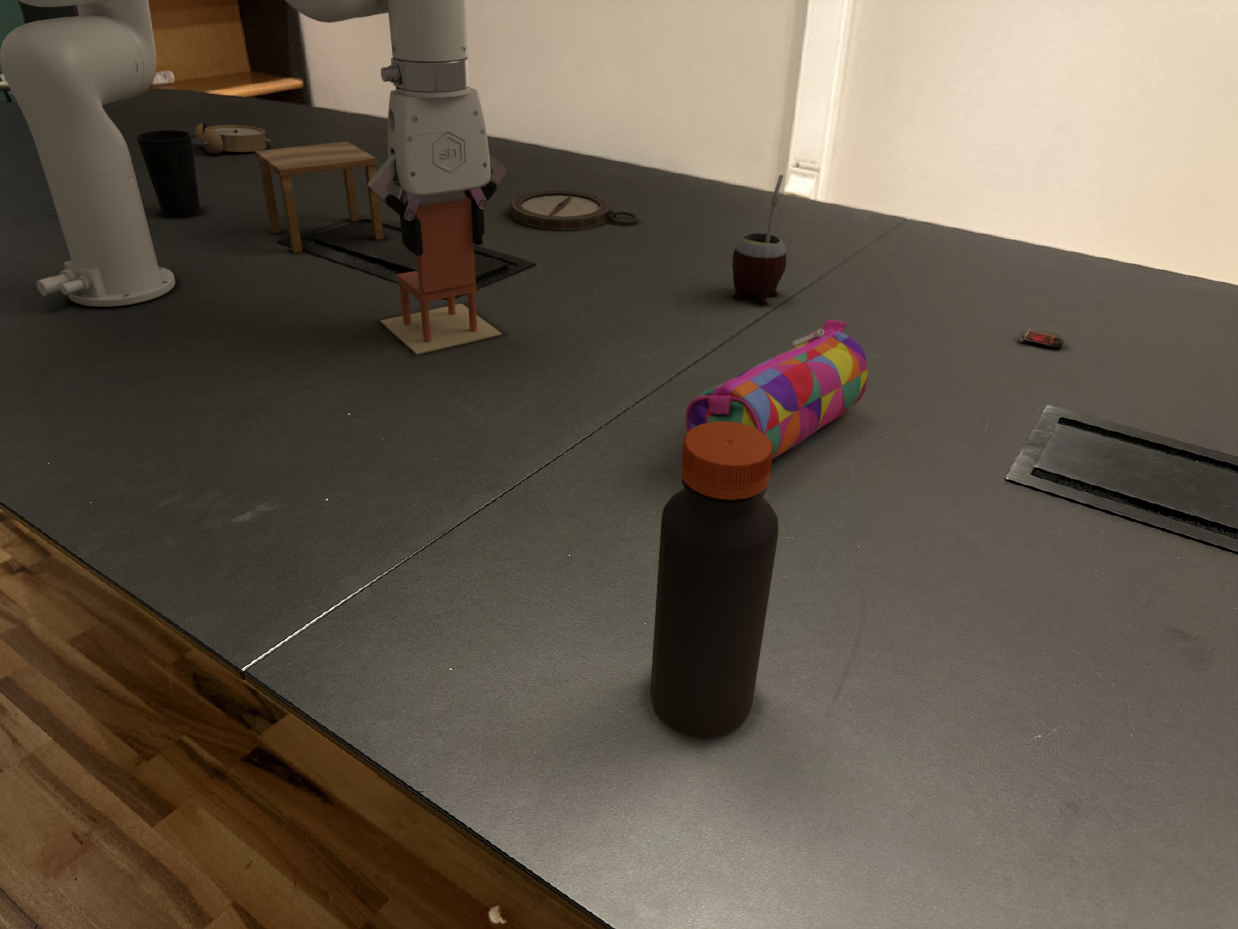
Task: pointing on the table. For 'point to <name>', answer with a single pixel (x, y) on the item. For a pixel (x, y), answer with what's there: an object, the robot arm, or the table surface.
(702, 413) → the pencil case
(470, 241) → the chair
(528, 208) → the compass
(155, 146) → the cup
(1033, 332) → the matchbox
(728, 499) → the bottle
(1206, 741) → the table surface
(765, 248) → the mate gourd
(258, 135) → the alarm clock
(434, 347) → the mat
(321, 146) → the side table
